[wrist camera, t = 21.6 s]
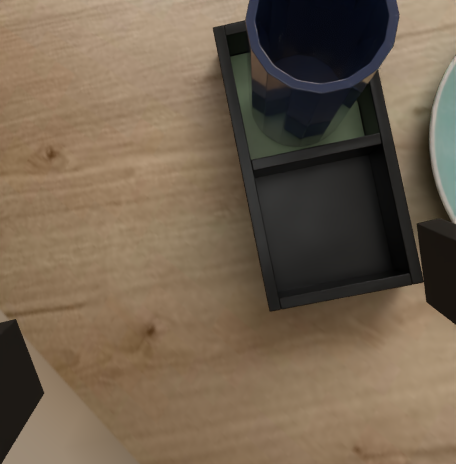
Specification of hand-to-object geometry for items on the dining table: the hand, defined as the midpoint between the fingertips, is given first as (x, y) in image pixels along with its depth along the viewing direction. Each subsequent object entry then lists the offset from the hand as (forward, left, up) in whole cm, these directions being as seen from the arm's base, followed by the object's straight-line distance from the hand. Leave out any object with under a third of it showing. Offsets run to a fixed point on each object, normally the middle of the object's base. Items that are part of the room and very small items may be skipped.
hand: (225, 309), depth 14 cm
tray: (+7, +7, -20) cm, 22 cm away
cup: (+7, +12, -19) cm, 24 cm away
